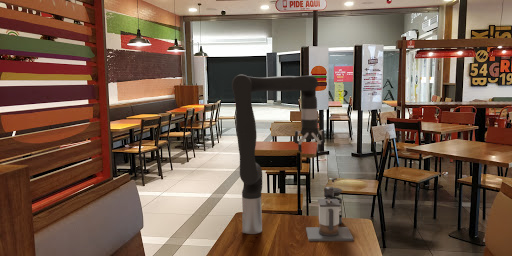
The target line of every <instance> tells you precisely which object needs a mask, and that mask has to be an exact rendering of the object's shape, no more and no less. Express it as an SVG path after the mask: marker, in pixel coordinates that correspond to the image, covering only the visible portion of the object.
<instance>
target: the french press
mask: <svg viewBox="0 0 512 256" xmlns="http://www.w3.org/2000/svg"><path fill="white" fill-rule="evenodd" d="M328 180H330V181H331V182H332V183H335V181H336V180H338V178H337V177H329V178H328ZM333 188H334V197H332V198H330V199H338V201H339V203H340V205H341V207H340V208H339V224H338V226H341V225H342V224H343V199H342V198H341V197H339V196H340V194H341V193H342V192H343V190H342V189H341V188H339V187H333ZM323 199H328V198H327V197H324V198H323ZM340 213H341V214H340Z"/></svg>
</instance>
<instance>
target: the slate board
mask: <svg viewBox="0 0 512 256" xmlns="http://www.w3.org/2000/svg"><path fill="white" fill-rule="evenodd" d="M319 229H320V226H316V227H315V226H313V227H311V226H309V227H308V226H307V227H305V232H306V235H307V238H308V239H307V241H308V242H354V237H353V235H352V233H351V230H350V229H349V227H348V226H338V230H339V234H338V235H337V236H332V237H328V236H323V235H320V234H319Z"/></svg>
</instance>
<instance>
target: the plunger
mask: <svg viewBox="0 0 512 256" xmlns="http://www.w3.org/2000/svg"><path fill="white" fill-rule="evenodd" d="M334 188H335V187H334V186H324V187H323V197H324V198H326V197H327V198H328V203H330V198H332V197H335V196H334Z"/></svg>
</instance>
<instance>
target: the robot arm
mask: <svg viewBox="0 0 512 256" xmlns="http://www.w3.org/2000/svg"><path fill="white" fill-rule="evenodd" d="M318 81H319V80H318V79H317V78H316V77H315V76H314V75H301V76H295V75H284V76H283V75H282V76H269V77H255V76H254V77H253V76H247V75H246V74H238V75H236V76H235V77H234V78H233V79H232V81H231V89H232V92H233V96H234V101H235V128H236V129H235V130H236V137H237V147H238V153H239V178H240V179H241V181H242V182H243V188H242V191H241V201H242V203H241V204H242V206H241V207H242V211H241V212H242V214H241V218H242V222H241V223H242V224H241V225H242V234H248V235H256V234H260V233H262V232H263V222H262V221H263V215H262V213H263V212H262V207H263V206H262V192H263V191H262V190H263V170H262V169H263V168H262V167H261V166H260V164H259V163H257V162H256V146H257V125H256V118H255V114H254V110H253V106H252V93H254V92H295V91H296V92H297V91H301V99H302V100H301V128H300V129H301V130H297V129H296V130H294V140H293V141H294V144H297V146H298V149H297V150H298V152H299V153H302V151H303V150H302V143H303V142H304V141H305V140H306V141H307V140H308V141H309V140H311V141H313V140H315V141H316V142H317V153H320V152H321V151H322V144H325V143H326V138H325V130H324V129H321V130H319V128H318V127H319V126H318V123H319V122H318V117H319V116H318V115H319V113H318V99H317V95H316V91H317V90H316V89H317V87H318V85H319V83H318ZM300 134H301V138H300V139H299V140H298V138H299V135H300ZM319 134H320V136H321V140H320V139H319V138H318V135H319Z"/></svg>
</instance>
